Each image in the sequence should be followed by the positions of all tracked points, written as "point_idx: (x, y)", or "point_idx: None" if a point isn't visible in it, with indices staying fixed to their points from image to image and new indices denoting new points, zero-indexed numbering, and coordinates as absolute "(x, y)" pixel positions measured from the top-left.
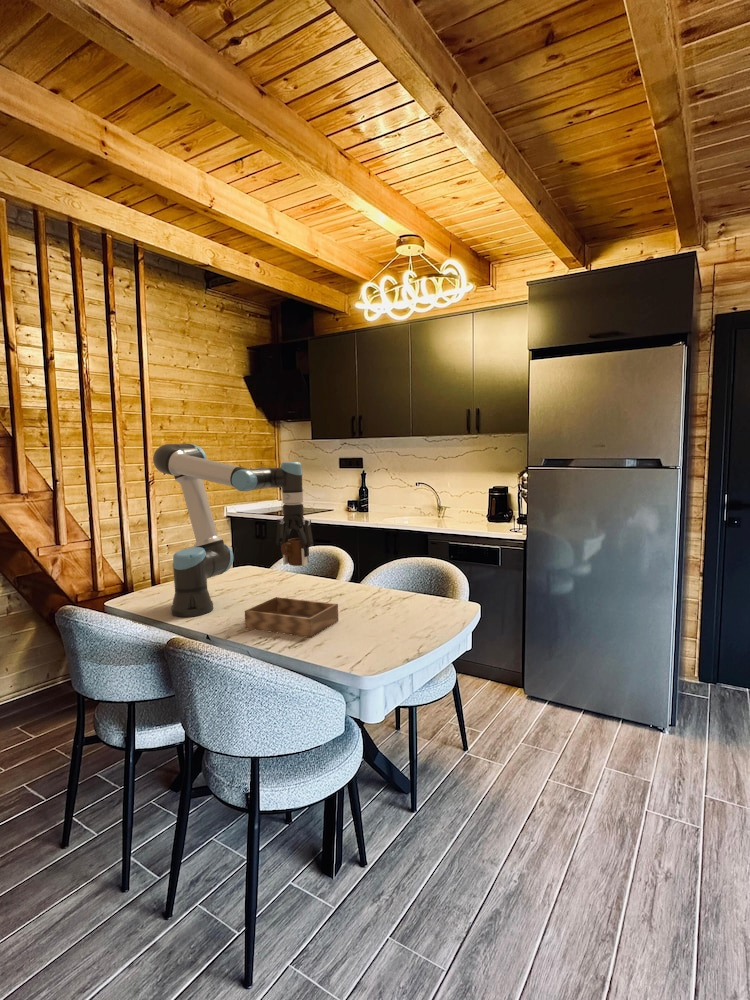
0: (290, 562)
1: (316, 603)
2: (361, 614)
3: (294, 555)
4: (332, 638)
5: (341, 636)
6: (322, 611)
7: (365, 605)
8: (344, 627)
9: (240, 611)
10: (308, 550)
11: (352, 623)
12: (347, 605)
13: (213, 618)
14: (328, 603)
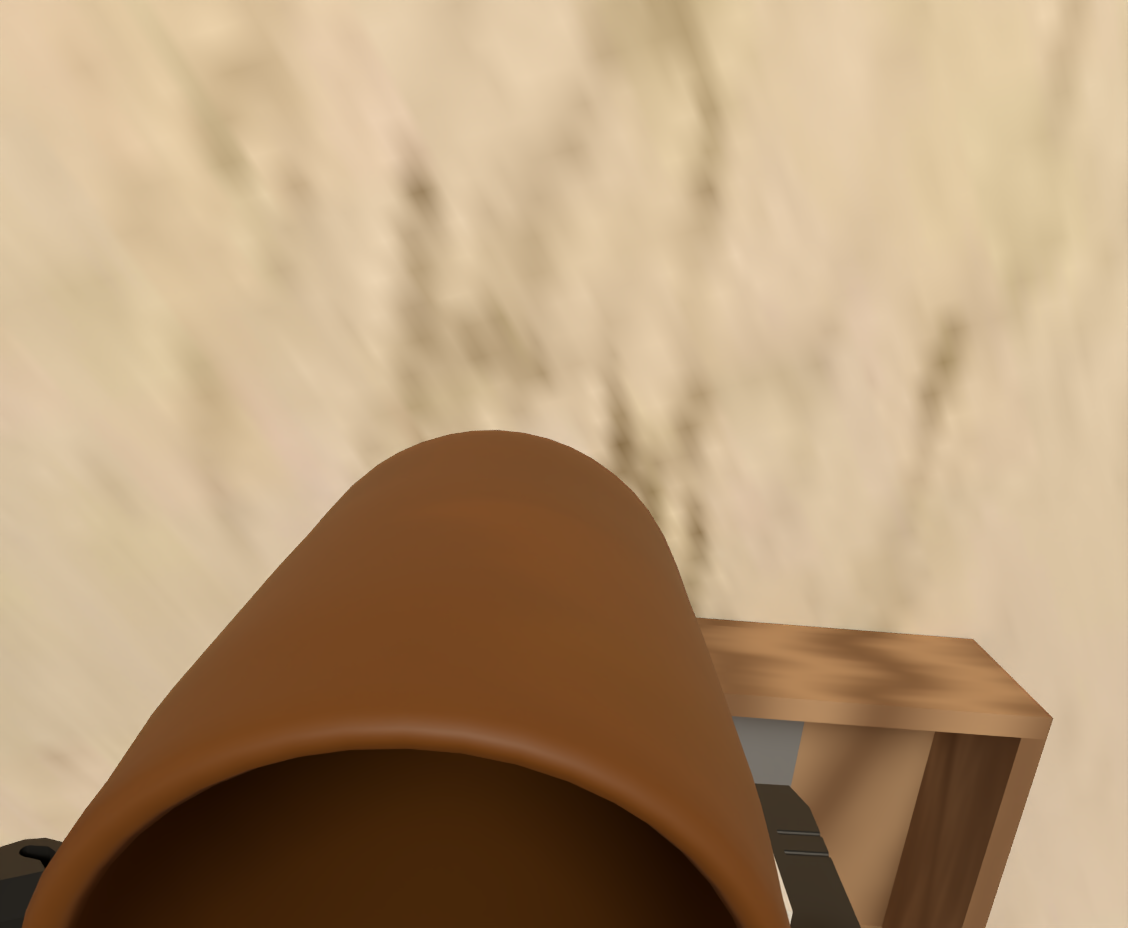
0: (424, 766)
1: (843, 719)
2: (1122, 458)
3: (510, 893)
4: (1021, 914)
5: (1068, 878)
6: (978, 904)
7: (1116, 192)
8: (1050, 744)
9: (118, 627)
10: (841, 905)
11: (1090, 663)
12: (939, 239)
13: (60, 800)
14: (964, 724)
